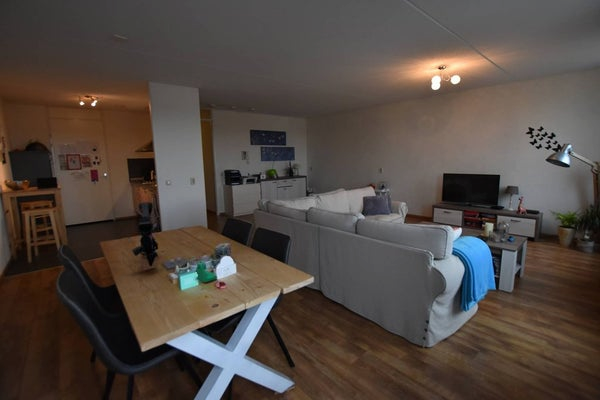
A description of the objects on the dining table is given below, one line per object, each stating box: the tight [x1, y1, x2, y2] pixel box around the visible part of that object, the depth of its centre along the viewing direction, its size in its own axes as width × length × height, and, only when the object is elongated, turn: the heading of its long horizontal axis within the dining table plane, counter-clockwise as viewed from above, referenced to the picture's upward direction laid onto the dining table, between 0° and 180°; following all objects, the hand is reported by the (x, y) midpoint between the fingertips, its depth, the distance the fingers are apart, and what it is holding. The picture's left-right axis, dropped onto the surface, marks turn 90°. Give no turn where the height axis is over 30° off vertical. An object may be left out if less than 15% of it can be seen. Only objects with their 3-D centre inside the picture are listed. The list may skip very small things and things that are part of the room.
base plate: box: [160, 257, 189, 271], centre depth 186 cm, size 14×14×4 cm
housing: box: [140, 256, 159, 271], centre depth 177 cm, size 5×8×7 cm, turn 131°
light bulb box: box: [214, 242, 232, 257], centre depth 190 cm, size 11×7×11 cm, turn 168°
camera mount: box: [195, 261, 218, 283], centre depth 162 cm, size 12×8×10 cm, turn 46°
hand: (149, 265), depth 178 cm, fingers closed on housing, 5 cm apart
